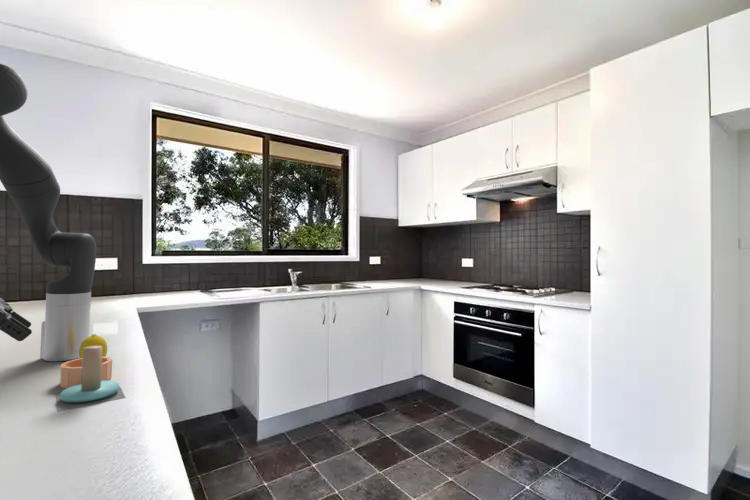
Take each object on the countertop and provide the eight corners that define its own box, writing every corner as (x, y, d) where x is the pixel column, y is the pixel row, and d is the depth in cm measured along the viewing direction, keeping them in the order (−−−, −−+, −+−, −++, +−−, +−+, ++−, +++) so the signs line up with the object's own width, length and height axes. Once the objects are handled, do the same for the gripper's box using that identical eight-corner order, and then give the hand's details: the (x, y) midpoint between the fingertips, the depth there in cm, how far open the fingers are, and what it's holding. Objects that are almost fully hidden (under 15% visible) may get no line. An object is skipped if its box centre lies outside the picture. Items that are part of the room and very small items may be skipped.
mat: (55, 396, 71) (55, 394, 71) (117, 385, 77) (117, 383, 77) (57, 413, 63) (57, 411, 63) (125, 399, 70) (125, 397, 70)
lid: (59, 394, 71) (61, 346, 71) (115, 384, 77) (117, 340, 77) (60, 409, 64) (63, 356, 64) (122, 397, 70) (124, 348, 70)
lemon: (91, 371, 86) (92, 337, 86) (72, 369, 87) (73, 335, 87) (112, 364, 91) (113, 332, 91) (94, 362, 92) (95, 331, 93)
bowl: (59, 381, 78) (60, 360, 79) (108, 373, 84) (109, 354, 84) (60, 393, 72) (61, 370, 72) (113, 384, 78) (114, 363, 78)
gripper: (-52, 252, 53) (49, 322, 61) (-40, 251, 63) (45, 311, 71) (-114, 289, 49) (3, 359, 57) (-90, 282, 60) (6, 342, 67)
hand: (26, 332), depth 64 cm, fingers open, 8 cm apart
